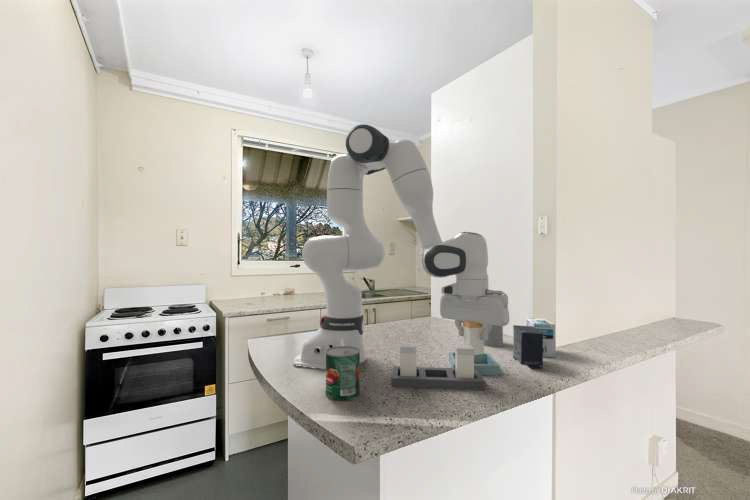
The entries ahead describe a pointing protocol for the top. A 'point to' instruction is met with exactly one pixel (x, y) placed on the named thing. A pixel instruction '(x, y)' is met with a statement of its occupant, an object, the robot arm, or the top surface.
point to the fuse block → (437, 379)
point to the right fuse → (464, 361)
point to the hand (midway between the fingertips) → (473, 337)
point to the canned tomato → (342, 373)
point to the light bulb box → (545, 335)
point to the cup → (494, 336)
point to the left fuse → (408, 359)
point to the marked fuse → (473, 336)
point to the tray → (483, 369)
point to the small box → (528, 346)
